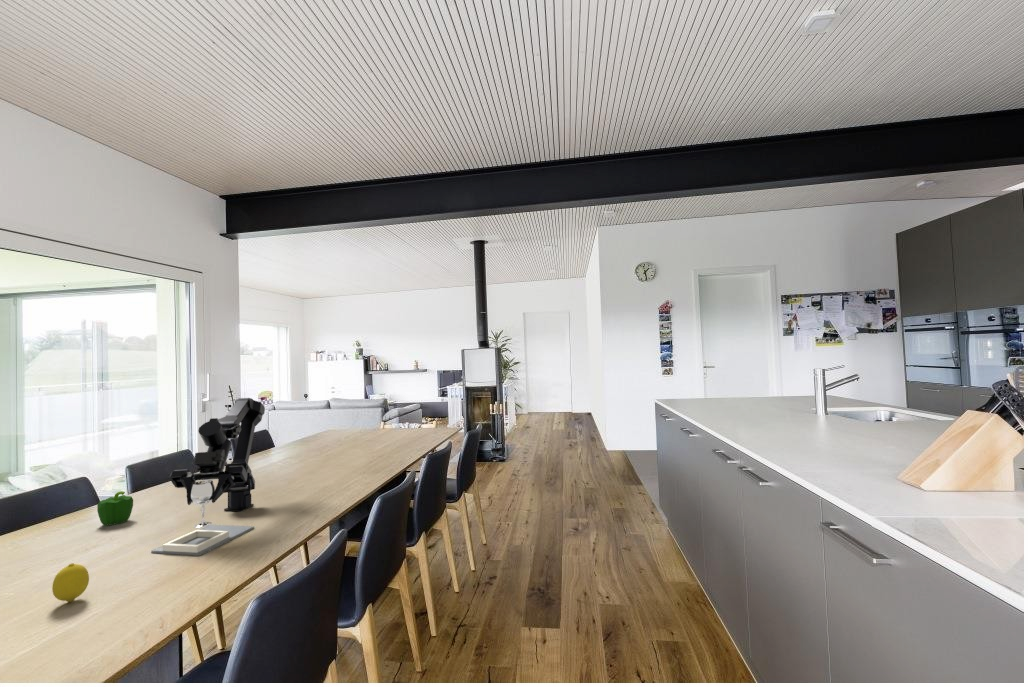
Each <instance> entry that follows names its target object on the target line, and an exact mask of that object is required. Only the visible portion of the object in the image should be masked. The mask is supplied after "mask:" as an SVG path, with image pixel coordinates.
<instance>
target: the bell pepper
mask: <svg viewBox="0 0 1028 687" xmlns="http://www.w3.org/2000/svg"><path fill="white" fill-rule="evenodd" d="M124 494H126V492H125V491H123V490H122V491H120V490H119V491H117V492H116V493H115V494H114V496H109V497H107V498H106V499H102V500H100V501H99V502H98V503H97V504H96V506H97V507H96V508H97V514H98V518H99V521H100V523H101V524H102V525H104V526H112V525H117V524H122V523H123V524H124V523H126V522H127V521H128V520H129V519H130V517H131V515H132V512H133V507H134V498H133V497H132V496H130V495H129V496H128V495H124Z"/></svg>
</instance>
